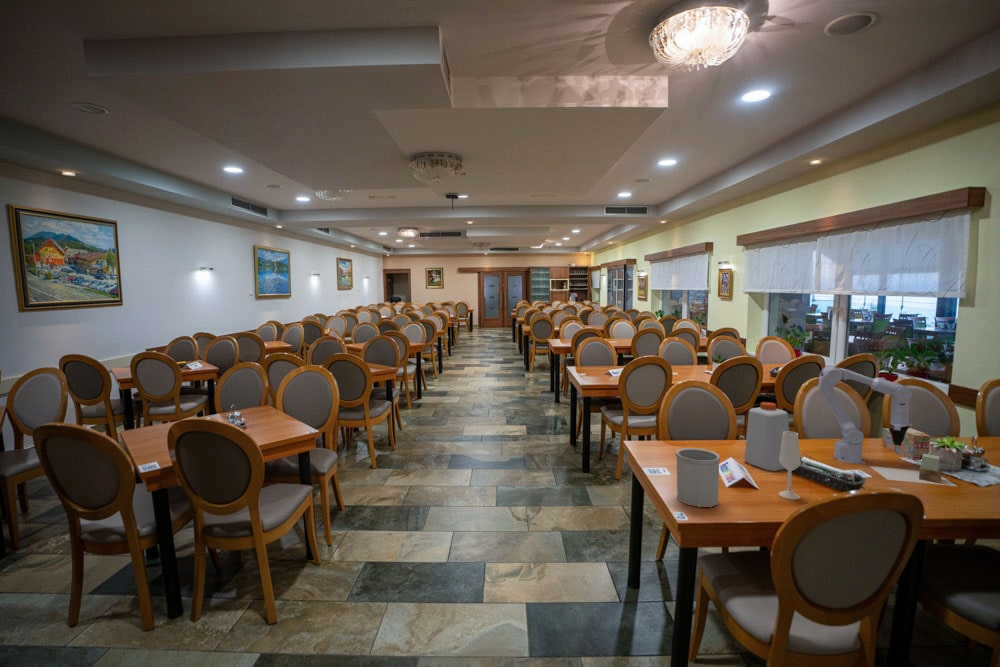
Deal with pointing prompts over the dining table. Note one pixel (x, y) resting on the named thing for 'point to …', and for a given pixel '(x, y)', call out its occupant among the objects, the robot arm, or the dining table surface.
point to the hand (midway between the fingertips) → (898, 443)
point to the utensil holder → (697, 476)
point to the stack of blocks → (908, 444)
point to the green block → (930, 462)
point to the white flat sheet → (906, 475)
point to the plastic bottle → (765, 436)
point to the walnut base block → (930, 475)
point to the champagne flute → (789, 459)
